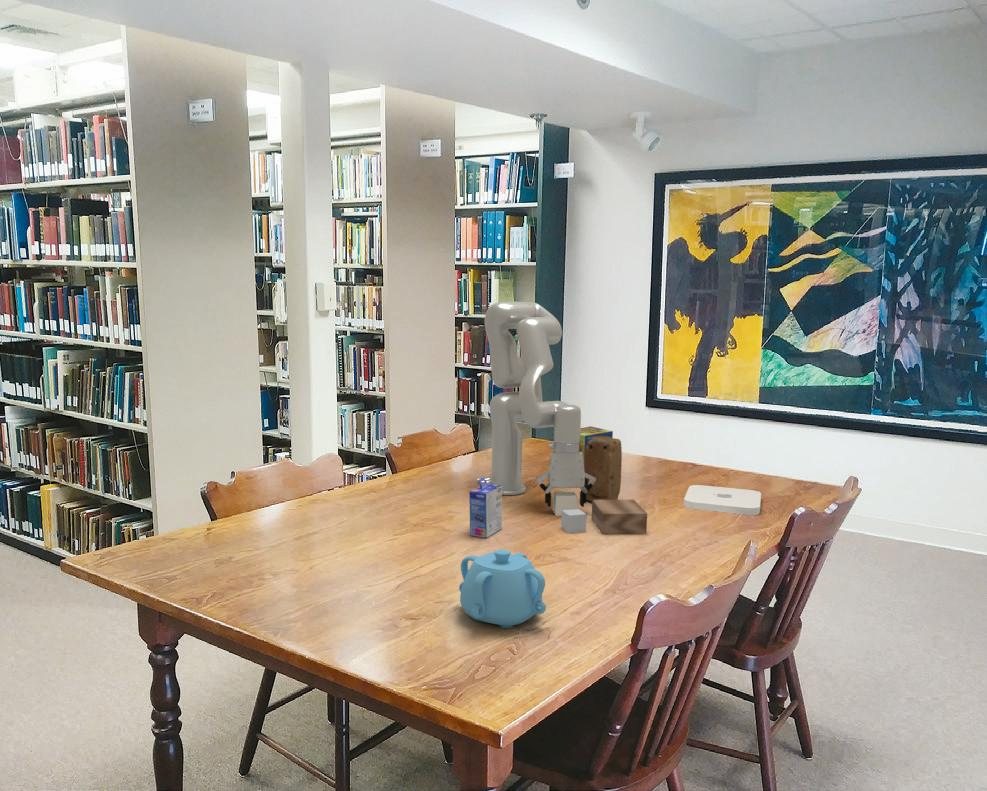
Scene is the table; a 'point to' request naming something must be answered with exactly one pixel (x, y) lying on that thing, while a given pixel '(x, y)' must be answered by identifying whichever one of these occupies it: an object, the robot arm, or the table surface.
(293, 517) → the table surface
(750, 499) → the computer
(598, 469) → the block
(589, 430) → the protein box
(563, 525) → the grey block
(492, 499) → the ink cartridge box
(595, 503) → the walnut block
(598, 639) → the table surface
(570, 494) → the cream block
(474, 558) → the decorative pot
